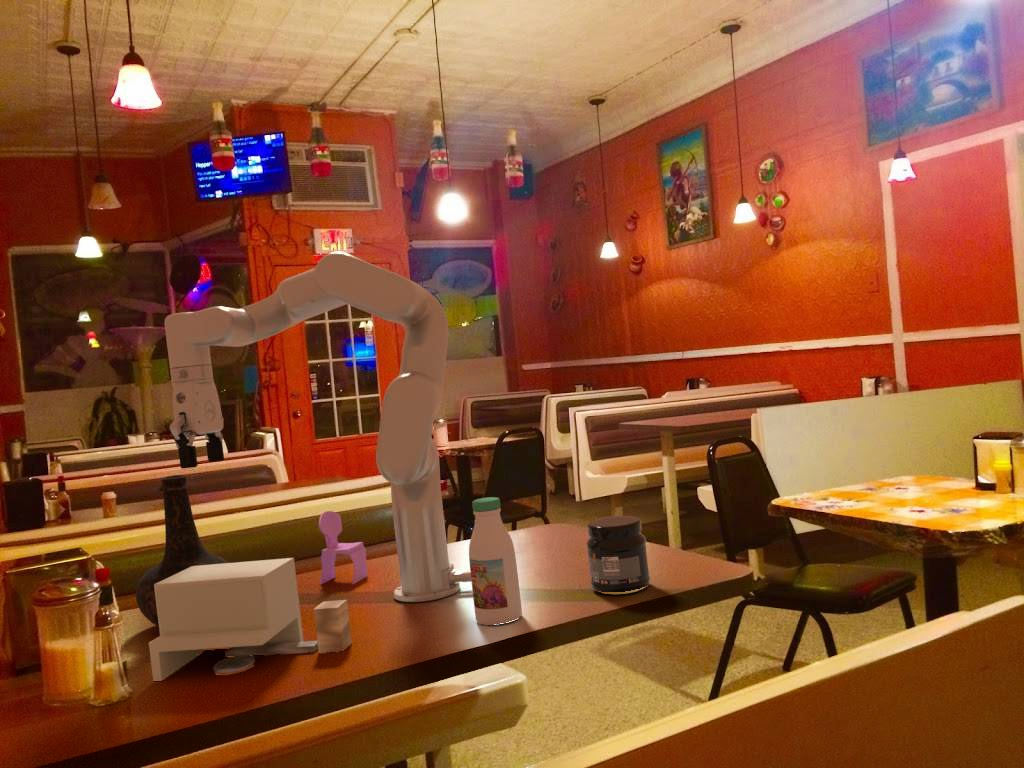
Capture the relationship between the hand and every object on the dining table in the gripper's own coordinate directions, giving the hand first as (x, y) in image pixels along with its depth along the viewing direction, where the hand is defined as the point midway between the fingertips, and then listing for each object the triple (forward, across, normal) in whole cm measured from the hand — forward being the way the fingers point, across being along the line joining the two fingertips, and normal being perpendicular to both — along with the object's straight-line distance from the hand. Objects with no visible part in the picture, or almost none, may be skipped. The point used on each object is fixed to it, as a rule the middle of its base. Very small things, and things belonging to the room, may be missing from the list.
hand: (203, 464), depth 155 cm
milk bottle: (+30, -15, -58) cm, 66 cm away
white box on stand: (+29, -27, -17) cm, 43 cm away
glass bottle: (+29, -5, +4) cm, 30 cm away
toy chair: (+30, +19, -18) cm, 39 cm away
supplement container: (+30, -1, -77) cm, 83 cm away
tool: (+29, -24, -25) cm, 45 cm away
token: (+30, -30, -19) cm, 46 cm away
